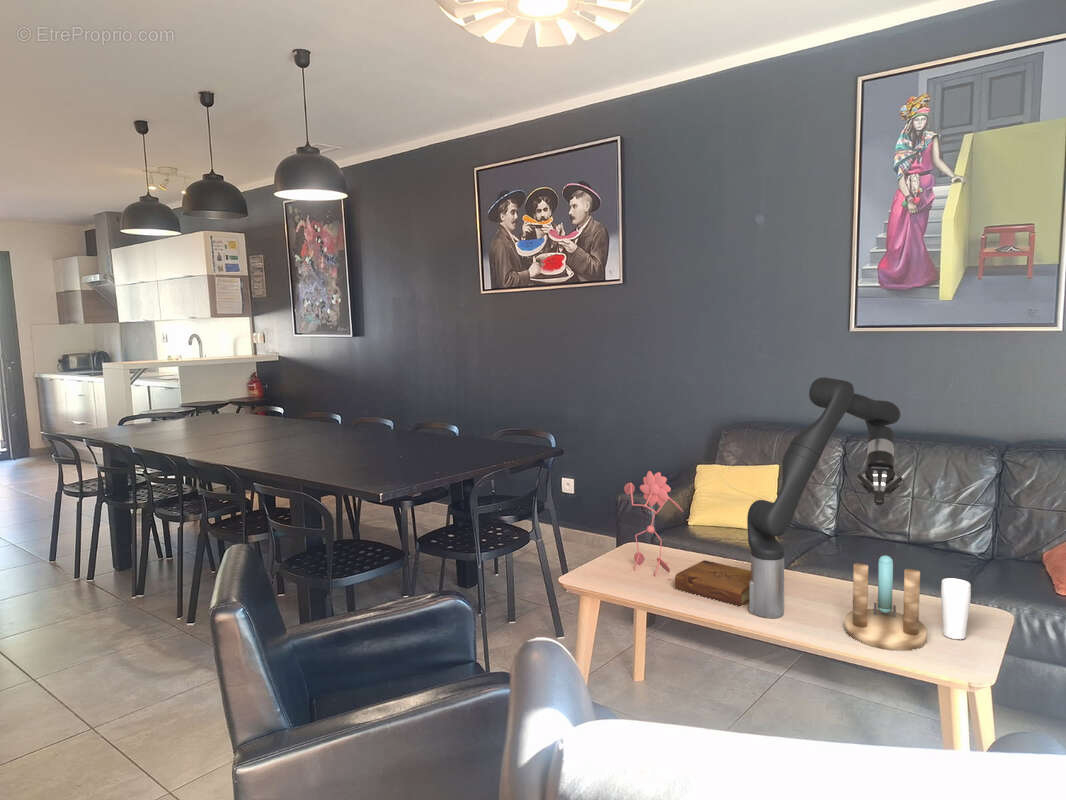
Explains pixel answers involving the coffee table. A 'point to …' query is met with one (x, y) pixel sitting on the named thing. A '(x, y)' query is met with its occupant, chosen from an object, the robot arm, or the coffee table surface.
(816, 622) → the coffee table surface
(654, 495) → the figurine
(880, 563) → the teal capsule cylinder
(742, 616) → the coffee table surface
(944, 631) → the drinking glass
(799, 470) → the robot arm
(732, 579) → the diary
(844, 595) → the coffee table surface
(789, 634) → the coffee table surface
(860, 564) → the stool
